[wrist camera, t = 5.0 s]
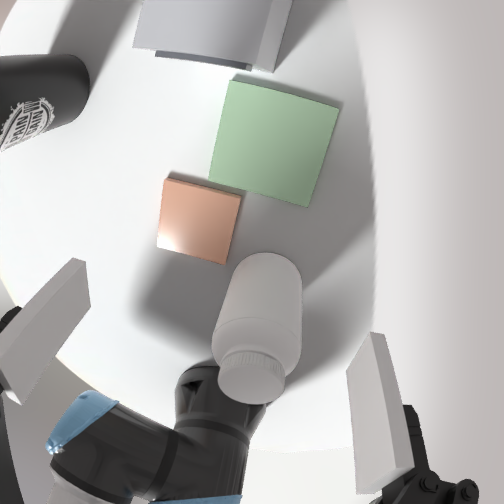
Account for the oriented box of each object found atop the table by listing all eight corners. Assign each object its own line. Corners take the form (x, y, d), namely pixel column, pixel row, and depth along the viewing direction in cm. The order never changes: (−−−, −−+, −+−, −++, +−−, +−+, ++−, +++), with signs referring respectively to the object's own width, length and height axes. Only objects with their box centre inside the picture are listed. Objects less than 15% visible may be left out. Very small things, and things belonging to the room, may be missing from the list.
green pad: (307, 204, 31) (307, 207, 30) (209, 178, 31) (207, 180, 30) (338, 108, 26) (339, 109, 25) (231, 80, 26) (229, 80, 25)
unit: (271, 77, 25) (253, 70, 14) (197, 63, 25) (130, 54, 14) (297, -15, 20) (296, -78, 9) (221, -27, 20) (173, -85, 9)
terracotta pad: (226, 261, 35) (224, 265, 35) (159, 242, 35) (157, 246, 35) (241, 196, 31) (240, 198, 31) (166, 177, 31) (164, 179, 31)
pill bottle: (305, 251, 34) (306, 360, 21) (299, 309, 38) (295, 417, 25) (231, 247, 34) (193, 349, 22) (234, 304, 39) (205, 407, 26)
